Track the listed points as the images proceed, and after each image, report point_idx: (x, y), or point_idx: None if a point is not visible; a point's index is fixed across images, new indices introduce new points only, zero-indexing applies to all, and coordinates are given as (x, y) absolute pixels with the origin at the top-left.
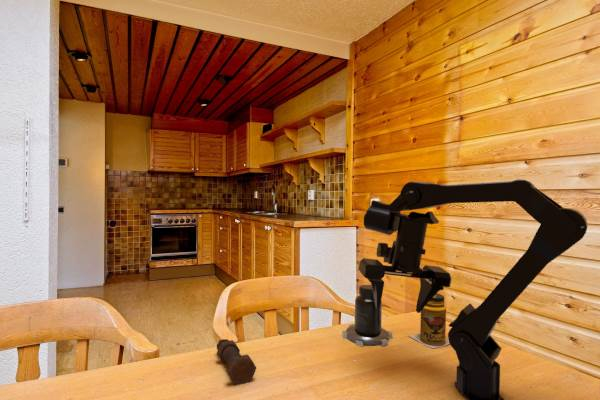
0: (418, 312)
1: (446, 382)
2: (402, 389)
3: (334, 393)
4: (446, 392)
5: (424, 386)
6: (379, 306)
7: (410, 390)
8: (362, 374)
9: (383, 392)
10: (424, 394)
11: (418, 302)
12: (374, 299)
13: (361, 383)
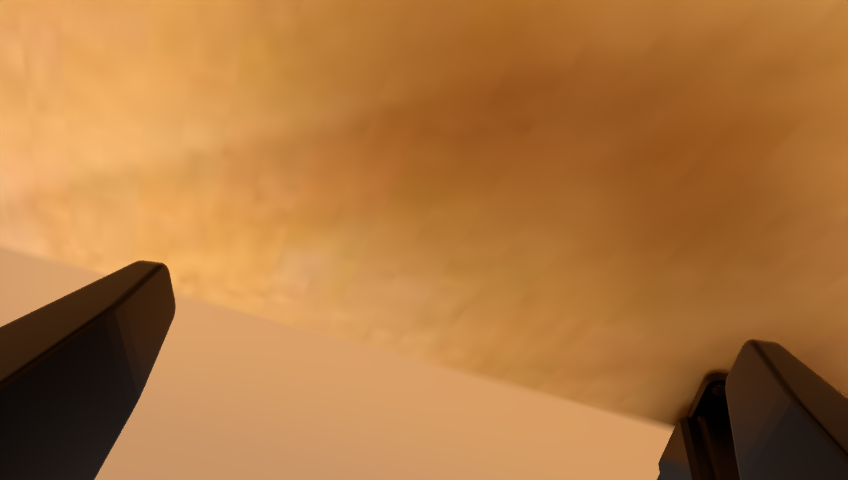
0: (732, 393)
1: (690, 338)
2: (424, 326)
3: None
4: (616, 399)
5: (545, 335)
6: (158, 351)
7: (457, 342)
8: (278, 159)
9: (329, 322)
10: (502, 382)
11: (799, 471)
12: (48, 313)
13: (252, 235)
